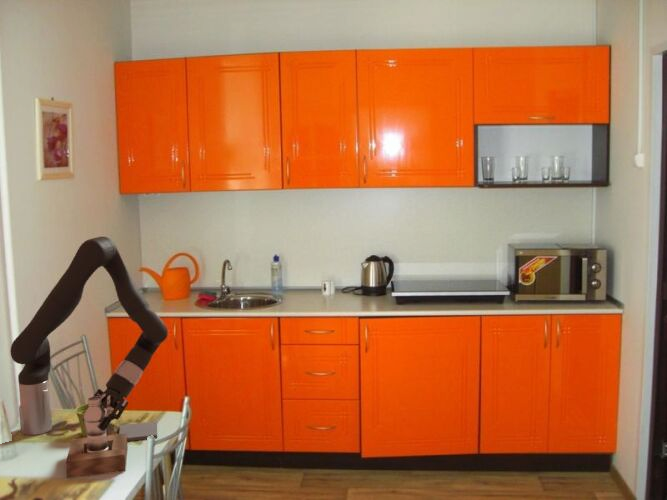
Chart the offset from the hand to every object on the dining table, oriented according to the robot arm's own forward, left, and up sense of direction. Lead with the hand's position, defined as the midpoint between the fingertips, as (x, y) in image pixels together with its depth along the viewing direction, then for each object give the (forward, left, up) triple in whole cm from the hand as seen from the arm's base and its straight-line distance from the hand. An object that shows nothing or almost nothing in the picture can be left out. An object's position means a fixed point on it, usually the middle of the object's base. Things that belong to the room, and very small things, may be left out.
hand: (92, 425), depth 199 cm
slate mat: (+12, +21, -12) cm, 27 cm away
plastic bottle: (+1, +1, -12) cm, 12 cm away
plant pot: (-3, +25, -12) cm, 28 cm away
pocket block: (+1, +1, -12) cm, 12 cm away
